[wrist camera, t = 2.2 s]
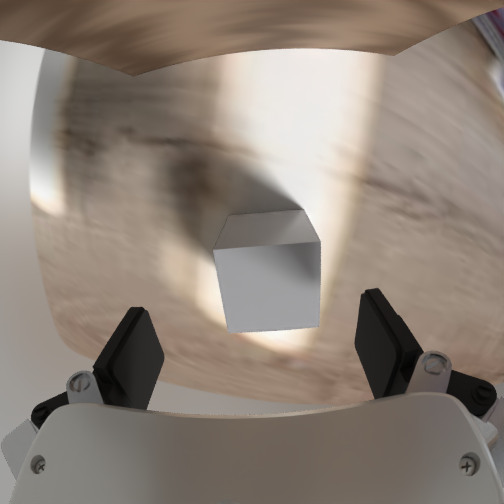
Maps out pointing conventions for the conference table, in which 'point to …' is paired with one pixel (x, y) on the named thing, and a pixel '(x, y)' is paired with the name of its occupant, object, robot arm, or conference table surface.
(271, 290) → the grey cube-like block
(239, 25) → the stand
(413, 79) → the conference table surface
